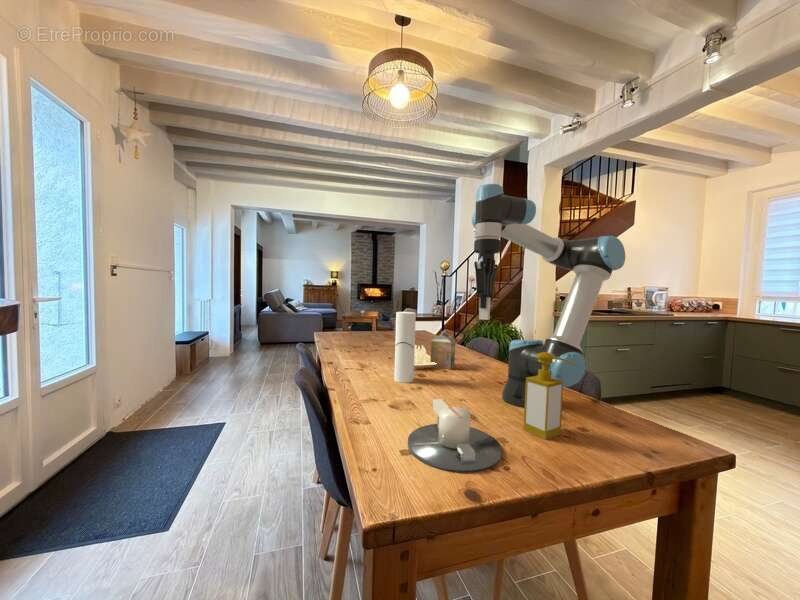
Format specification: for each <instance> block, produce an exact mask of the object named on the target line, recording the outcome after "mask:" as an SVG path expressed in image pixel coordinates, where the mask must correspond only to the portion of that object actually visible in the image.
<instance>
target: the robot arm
mask: <svg viewBox="0 0 800 600" xmlns="http://www.w3.org/2000/svg"><path fill="white" fill-rule="evenodd" d="M536 214H537V205H536V203H535V202H534V201H533V200H531V199H527V198H526V197H517V196H512V195H511V196H510V195H506V194H504V187H503V186H502V185H501V184H497V183H486V184H483V185H480V186H479V187H478V188H477V189H476V195H475V211H474V213H473V214H472V216H471V224H472V226H473V228H474V229H473V232H474V239H475V240H474V242H473V243H474V244H473V252H474V253H475V254H478V257H477V261H474V263H473V266H474V269H475V270H474V271H475V284H476V285H475V286H476V298H479V303H478V304H479V309H478V320H484V321H485V320H487V321H488V320H489V321H490V314H491V313H490V312H491V298H494V297H495V295H494V292H495V286H496V285H495V284H496V275H497V270H498V264H496V259H495V255H496V254H499V253H500V252H501V247H502V246H501V243H502V241H501V238H503V239H505V240H508V241H510V242H511V243H514V244H516V245H519V246H520V247H522V248H524V249H527V250H528V251H531V252H533V253H535V254H538V255H539V256H541V258H542V260H544V261H545V262H547V263H549V264H551V265H554V266H556V267H558V268H561V269H564V270H568V271H573V272H574V273H575V277H574V280H573V281H572V284H571V287H570V290H569V292H568V295H567V297H566V300H565V302H564V306H563V308H562V309H561V313H560V315H559V317H558V321H557V323H556V326H555V328H554V331H553V333H552V335H551V336H549V337H547V338H546V339H545V341H544V340H542V339H513V340H511V341H510V342H509V348H508V359H507V360H508V366H507V367H508V368H507V369H508V370H507V378H506V379H507V380H506V383H505V385H504V387H503V390H502V394H501V395H502V396H501V398H502V400H503V401H504V402H506V403H507V404H509V405H512V406H517V407H519V408H520V407H521V408H525V387H526V380H527V379H526V378H527V377H533V376H538V370H539V369H542V363H541V362H539V361H538V357H536V355H537V354H539V353H542V352H548V353H550V354H552V355H554V356H555V357H558V358H562V359H565V360H568V361H571V362H573V363H575V364H576V365H573V364H571V363H569V362H566V361H563V360H559V359H553V362H552V363H548V370H550V371H552V373H551V378H554V379H558V380H561V381H563V382H562V383H563V388H568V387H572V386H573V385H574V386H575V385H576V384H578V383H579V382H580V381H581V379H582V378H583V376H584V374H585V373H586V372H585V371H586V368H587V366H586V365H585V364H586V360H585V357H584V356H583V355H582V354H583V349H582V347H581V342H582V340H583V336H584V333H585V332H586V329H587V326H588V323H589V321H590V318H591V315H592V313H593V311H594V306H595V304H596V301H597V300H598V299H597V298H598V296H599V293H600V291H601V288H602V285H603V282H605V281H608V280H609V279H610V278H611V277H612V273H613V271H618V270H620V269H622V268H623V266H624V265H625V263H626V249H625V246H624V244H623V242H622V241H621V240H620V239H619V238H618V237H616V236H614V235H601V236H596V237H589V238H582V239H573V240H572V239H571V240H569V239H562V238H561V237H552V236H550V235H548V234H547V233H545V232H542V231H541V230H539V229H537V228H536V227H535V228H534V227H532V226H530V225H529V224H530V223H532V222H533V220H534V218H535V217H536Z"/></svg>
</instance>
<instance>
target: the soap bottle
mask: <svg viewBox="0 0 800 600" xmlns="http://www.w3.org/2000/svg"><path fill="white" fill-rule="evenodd" d="M536 357H538V361H539V362H541V363H542V369H539V370H538V376H533V377H527V378H526V379H527V380H526V387H525V407H523V409H524V413H523V429H522V430H523V431H525V432H527V433H530V434H532V435H534V436H536V437H539V438H540V439H543V440H545V441H546V440H549V439H552V438H554V437H557V436H559V435H561V434H562V433H561V432H562V431H561V430H562V417H563V415H562V414H563V411H562V410H563V396H564V395H563V393H564V387H563V383H562V382H563V381H561V380H558V379H554V378H551V373H552V371H550V370H548V363H552V362H553V359H559V360H563V361H566V362H569V363H571V364H573V365H576V364H575V363H573V362H571V361H568V360H565V359H562V358H558V357H555V356H554V355H552V354H550V353H548V352H542V353H539V354H537V355H536Z"/></svg>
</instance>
